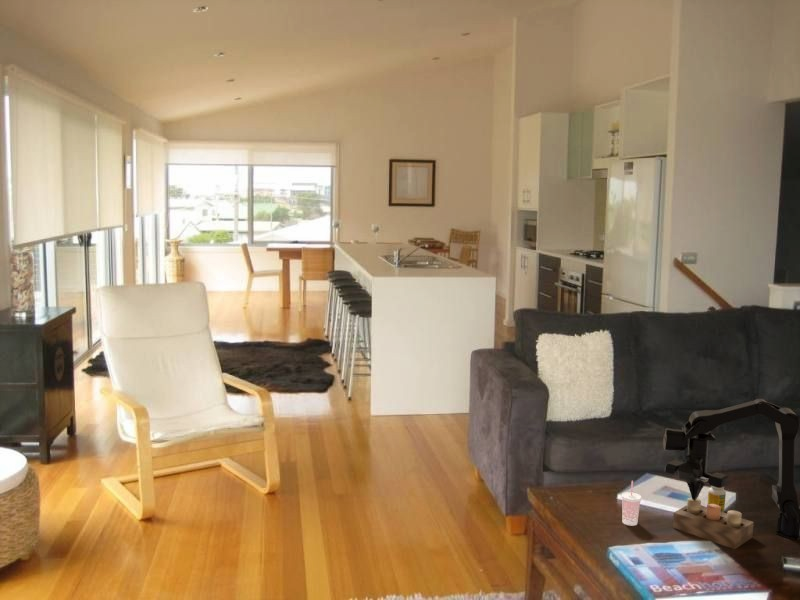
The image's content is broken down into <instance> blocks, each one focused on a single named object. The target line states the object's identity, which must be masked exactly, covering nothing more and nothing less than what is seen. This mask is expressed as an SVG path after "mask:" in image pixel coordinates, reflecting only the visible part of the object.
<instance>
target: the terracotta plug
mask: <svg viewBox="0 0 800 600" xmlns="http://www.w3.org/2000/svg"><path fill="white" fill-rule="evenodd" d="M706 507H707V514H706V518H707V519H710V520H713V521H716V522H718V521H719V520H720V513H721V507H720V506H719V505H716V504H708V503H707V506H706Z"/></svg>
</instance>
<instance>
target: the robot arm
mask: <svg viewBox="0 0 800 600" xmlns="http://www.w3.org/2000/svg"><path fill="white" fill-rule="evenodd" d="M760 415H762V416H764V417H766V418H768V419H769V420H772V421H773V422H774V423H775V428H776V431H777V435H778V481H777V483H776V485H774V484H773V485H771V489H772V494H771V498H772V500H773V501H774V503H775V505H776V506H777V508H779V510H780V512H781V513H779V516H778V517H777V521H776V522H777V523H776V531H775V534H776V535H777V536H782V537H785V538H788V539H791V540H794V541H798V540H800V503H799V499H798V498H799V497H798V493H797V490H796V487H795V441H796V438H797V436H798V434H799V431H800V417H799V416H798V415H797V414H796V413H795V412H794V410H792V409H791V408H789V407H780V406H778V405H776V404H774V403H772V402H768V401H766V400H765V399H763V398H756V399H754V400H751V401H748V402H747V401H746V402H744V403H741V404H735V405H732V406H728V407H725V408H721V409H715V410H714V409H711V410H710V409H705V410H696V411H693V412H692V413H691V414H690V415H689V418H688V421H687V422H686V423H685V424H684V425H683V426H682V427H681V429H675V428H667V427H666V428H665V432H664V435H663V442H662V445H663V450H664V451H671V452H672V451H673V452H684V451H686V449H687V448H688V449H687V454H686V455H685V457H684V458H685V459H684V461H680V460H675V459H673V460H671V461H669V462H666V464H665V465H664V472H665V473H668V474H671V475H674V474H675V473H676V472H677V477H678V479H680V480H683V481H684V482H685V483H686V484H687V487H688V489H689V491H690V492H689V493H690V496H691V498H692V499H693V500H696V499H698V498H699V495H700V493H701V492H702V490H703V488H704V487H705V485H706V484H709V486H710V487H711V486H714V487H717V488H722V487H724V488H725V486H727V485H729V483H730V478H729V476H728V475H727V474H724V473H722V472H718V471H717V472H714V473H712V474H711V473H708V471H709V467H707V465H708V459H710V455H709V454H708V451H709V441H716V437H715V435H713V434H712V431H714V430H716V429H717V428H718V427H720V426H722V425H724V424H727V423H728V424H729V423H732V422H736V421H741V420H743V419H747V418H750V417H755V416H760Z"/></svg>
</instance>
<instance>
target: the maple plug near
mask: <svg viewBox="0 0 800 600" xmlns="http://www.w3.org/2000/svg"><path fill="white" fill-rule="evenodd" d="M726 513H727V524H726V525H728V526H731V527H734V528H737V529H738V528H740V527H741V518H742V512H740V511H738V510H734V509H733V510H728V511H727V512H726Z"/></svg>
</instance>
